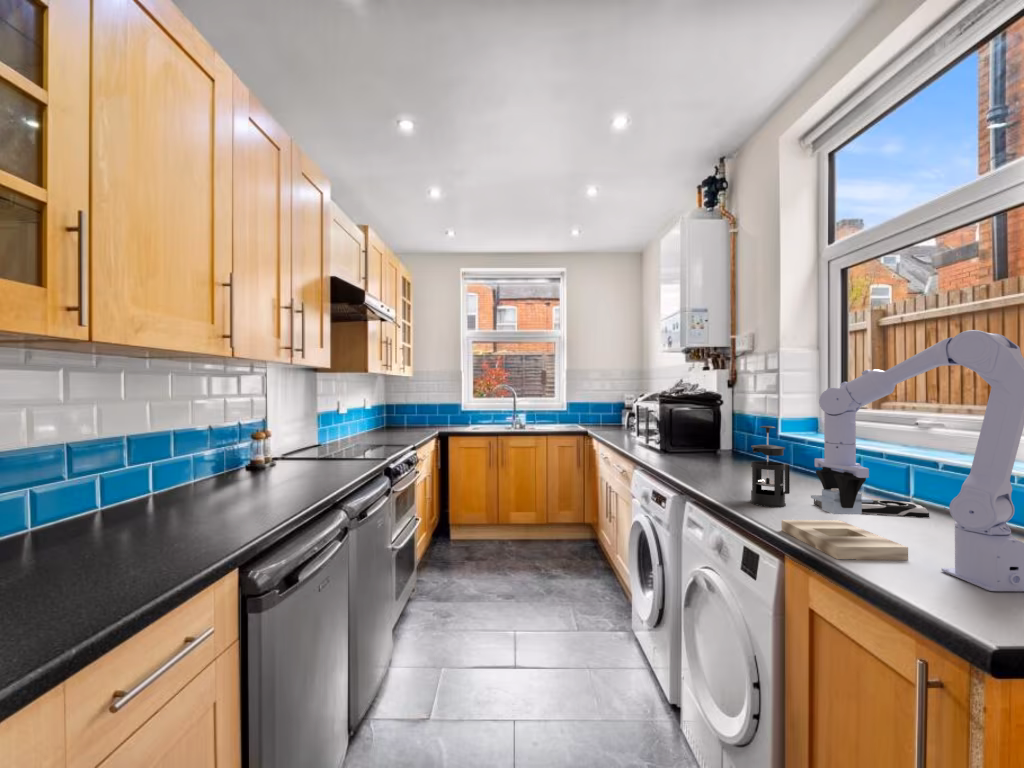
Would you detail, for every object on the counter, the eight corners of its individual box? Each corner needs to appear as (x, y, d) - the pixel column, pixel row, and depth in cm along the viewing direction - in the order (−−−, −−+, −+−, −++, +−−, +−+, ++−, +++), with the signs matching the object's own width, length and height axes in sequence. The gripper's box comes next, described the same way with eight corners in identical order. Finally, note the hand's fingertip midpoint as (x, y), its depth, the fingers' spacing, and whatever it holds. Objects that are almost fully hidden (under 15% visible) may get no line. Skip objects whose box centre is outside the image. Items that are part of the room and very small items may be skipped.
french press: (760, 507, 139) (760, 427, 139) (741, 500, 148) (741, 425, 149) (798, 507, 140) (798, 427, 141) (777, 499, 150) (777, 425, 150)
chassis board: (908, 559, 96) (908, 547, 96) (837, 559, 96) (837, 546, 96) (839, 530, 116) (839, 520, 116) (781, 530, 116) (781, 520, 116)
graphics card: (813, 495, 144) (911, 499, 138) (813, 506, 143) (911, 511, 138) (826, 502, 134) (933, 508, 128) (826, 515, 134) (933, 521, 128)
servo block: (873, 514, 104) (873, 491, 105) (822, 514, 104) (822, 490, 104) (859, 509, 108) (859, 487, 109) (810, 509, 108) (810, 487, 108)
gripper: (883, 447, 99) (883, 513, 99) (835, 439, 114) (835, 497, 114) (849, 446, 99) (849, 513, 99) (805, 439, 114) (805, 497, 114)
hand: (839, 505), depth 106 cm, fingers closed on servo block, 4 cm apart
